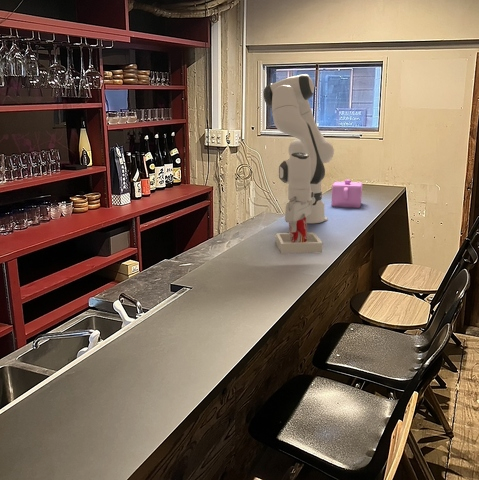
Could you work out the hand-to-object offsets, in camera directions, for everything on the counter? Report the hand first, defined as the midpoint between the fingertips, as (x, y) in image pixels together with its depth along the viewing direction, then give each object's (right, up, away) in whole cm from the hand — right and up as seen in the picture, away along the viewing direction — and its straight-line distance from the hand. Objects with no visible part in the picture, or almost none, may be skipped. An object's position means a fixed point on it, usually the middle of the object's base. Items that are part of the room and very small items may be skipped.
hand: (298, 229), depth 211 cm
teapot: (+36, +16, +86) cm, 95 cm away
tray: (0, -7, +2) cm, 7 cm away
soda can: (+1, -5, +4) cm, 6 cm away
